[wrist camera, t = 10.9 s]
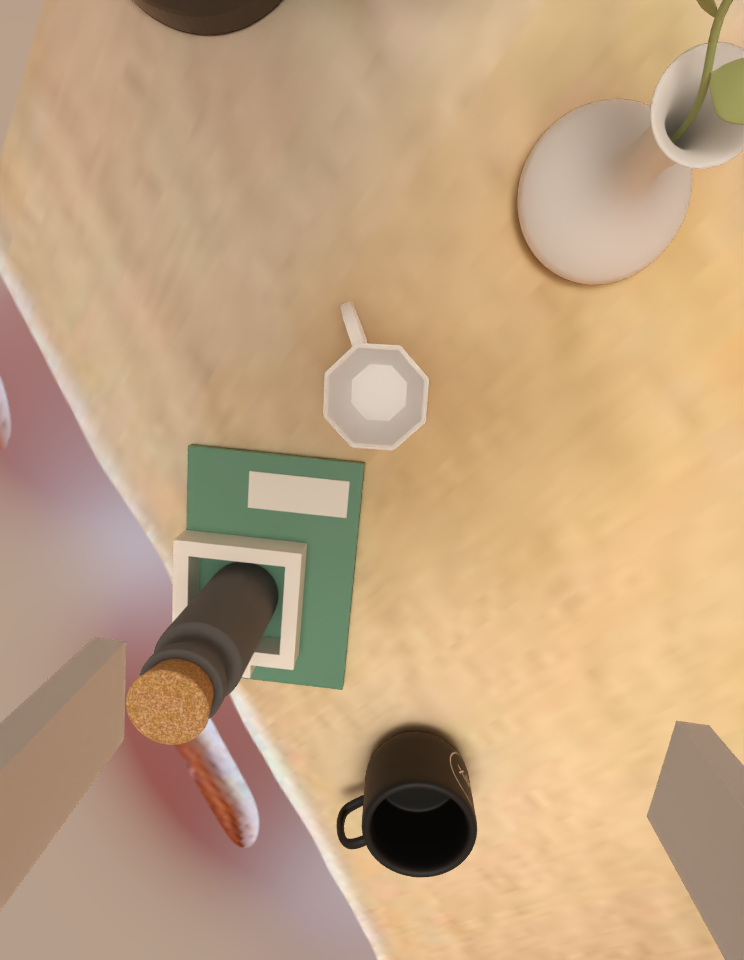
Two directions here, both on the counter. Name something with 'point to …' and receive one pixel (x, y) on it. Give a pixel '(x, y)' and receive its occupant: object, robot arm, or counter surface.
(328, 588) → the board
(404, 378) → the cup
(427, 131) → the counter surface
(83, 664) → the robot arm
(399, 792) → the mug
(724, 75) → the flower in vase
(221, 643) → the bottle
